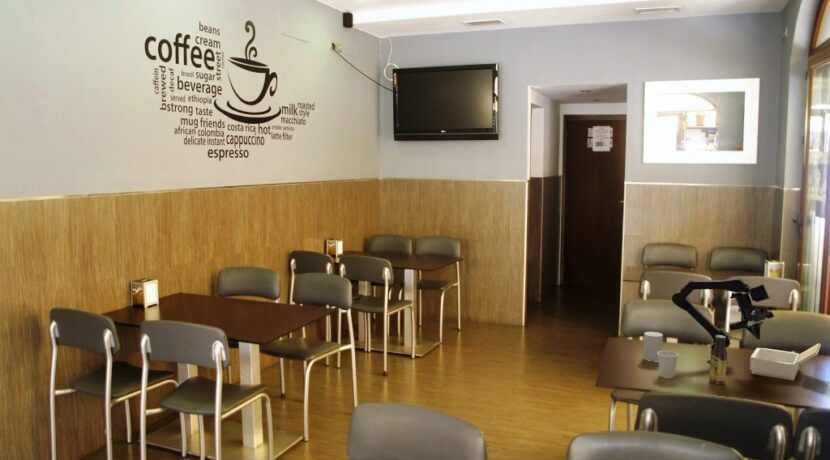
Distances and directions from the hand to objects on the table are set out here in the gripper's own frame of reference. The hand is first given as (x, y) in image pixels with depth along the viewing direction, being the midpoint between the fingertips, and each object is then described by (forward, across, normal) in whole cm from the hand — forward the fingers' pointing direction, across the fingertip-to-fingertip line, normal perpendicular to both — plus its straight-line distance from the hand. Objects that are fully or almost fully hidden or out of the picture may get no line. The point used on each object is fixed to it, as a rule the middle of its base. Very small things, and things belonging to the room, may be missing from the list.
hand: (758, 339), depth 299 cm
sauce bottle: (+9, -31, -11) cm, 34 cm away
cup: (-4, -40, +21) cm, 46 cm away
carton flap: (+10, +12, -11) cm, 19 cm away
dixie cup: (+1, -47, -1) cm, 47 cm away
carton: (+15, +1, -1) cm, 15 cm away
